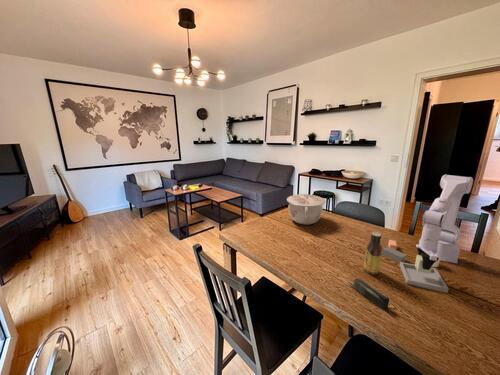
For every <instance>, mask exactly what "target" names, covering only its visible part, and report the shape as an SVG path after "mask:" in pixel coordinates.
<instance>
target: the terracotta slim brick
mask: <svg viewBox="0 0 500 375" xmlns="http://www.w3.org/2000/svg"><path fill="white" fill-rule="evenodd" d="M387 247H390V248H392V249H395V250H397V248H398V244H397V241H396V240H393V239H388V244H387ZM397 251H398V250H397Z"/></svg>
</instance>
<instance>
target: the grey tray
mask: <svg viewBox="0 0 500 375" xmlns="http://www.w3.org/2000/svg"><path fill="white" fill-rule="evenodd" d="M399 268H400V270H401V273H402V276H403V278H404V280H405V283H406V285H410V286H414V287H417V288H423V289H426V290H427V289H428V290H431V291H436V292H442V293H446V294H448V292H449V287H448V286H447V284H446V282H445V280H444V279H443V277H442V276H441V275H440V273H439V271H438V270H437V269H436V267H432V269H431V273H430V274H429V273H423V272H418V271H417V269H416V267H415V264H413V263H408V262H400V263H399Z"/></svg>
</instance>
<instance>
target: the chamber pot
mask: <svg viewBox="0 0 500 375" xmlns="http://www.w3.org/2000/svg"><path fill="white" fill-rule="evenodd" d="M286 202H288V213H289V216H290V218H291V219H292V220H293V222H295V223H297V224H299V225H313V224H315V223H317V222H318V221H319V220H320V219H321V217H322V215H323V211H324V210H323V209H324V208H323V205H325V203H326V200H325V199H324V197H321V196H318V195H314V194H309V193H308V194H304V193H303V194H301V193H299V194H294V195H289V196H288V197H286Z"/></svg>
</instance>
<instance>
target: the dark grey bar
mask: <svg viewBox="0 0 500 375" xmlns="http://www.w3.org/2000/svg"><path fill="white" fill-rule="evenodd" d="M349 286H350V287H352V288H353V289H355V290H356V291H357V292H359V293H360V294H361V295H363V296H364V297H365V298H367V299H368V300H369V301H370V302H371V303H373V304H375V305H376V306H377V307H378V308H380V309H383V310H387V309H388V308H389V304H390V298H389V297H387V296H386V295H385V294H383V293H382V292H380V291H379V290H377V289H376V288H374V287H373V286H372V285H370V284H369V283H368V282H366V281H365V280H362V279H360V278H358V277H357V278H355V279H354V280H353V284H351V283H350V284H349Z"/></svg>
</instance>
